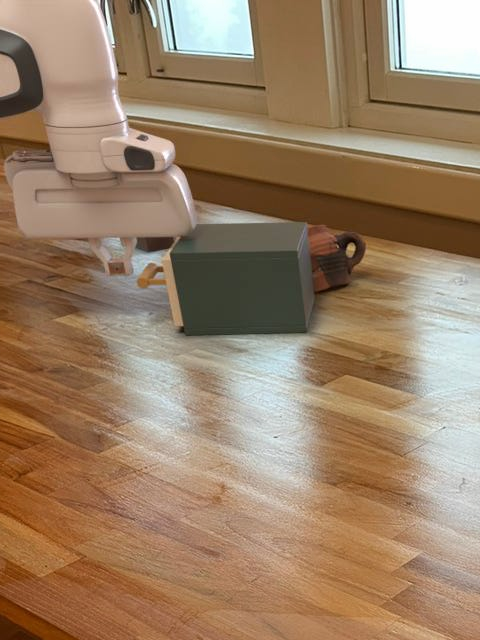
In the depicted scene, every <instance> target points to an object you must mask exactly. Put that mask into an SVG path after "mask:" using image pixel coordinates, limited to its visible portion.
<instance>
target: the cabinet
mask: <svg viewBox="0 0 480 640" xmlns="http://www.w3.org/2000/svg"><path fill="white" fill-rule="evenodd" d="M307 228H308V223H307V221H291V222H290V221H289V222H287V221H286V222H284V221H283V222H239V223H238V222H235V223H234V222H233V223H197V225H196V227H195V229H194V230H193V232H192V233H191V234H190V235H189V236H187V237H180V239H179V240H178V242H177V243H176V244H175V246H174V247H173V249H172V250H171V252H170V253H169V254H170V259H171V264H172V269H173V274H174V279H175V284H176V289H177V295H178V300H179V305H180V310H181V315H182V321H183V326H182V327H183V331H184V335H185V336H213V335H214V336H219V335H254V334H256V335H258V334H297V333H299V334H301V333H302V334H303V333H307V332H308V328H309V325H310V320H311V316H312V312H313V308H314V305H315V301H316V296H315V291H314V285H313V276H312V275H313V272H312V267H311V257H310V248H309V239H308V229H307Z"/></svg>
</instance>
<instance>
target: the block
mask: <svg viewBox="0 0 480 640" xmlns="http://www.w3.org/2000/svg"><path fill="white" fill-rule="evenodd" d="M136 239H137V244H136V247H135V249H136V248H137V249H138V250H142V251H144V252H147V253H151V252H152V253H153V252H156V251H160V250H165V249H170V247H171V246H172V244H173V243H174V242H175V237H136Z"/></svg>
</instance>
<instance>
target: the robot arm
mask: <svg viewBox="0 0 480 640" xmlns="http://www.w3.org/2000/svg"><path fill="white" fill-rule="evenodd" d="M28 112H34V113H38V114H40V116H41V117H42V121H43V124H44V127H45V132H46V137H47V140H48V144H49V148H50V149H43V150H42V149H41V150H40V149H39V150H32V151H29V150H28V151H26V150H14V151H13V152H12V154H11V155H9V156H8V157H6V159H5V160H4V161H3V171H4V174H5V178H6V182H7V184H8V186H9V188H10V189H11V190H12V197H13V199H12V200H13V206H14V213H15V218H16V222H17V226H18V229H19V232H20V233H22V235H23V236H24V237H25V238H27V239H28V240H67V239H70V240H71V239H72V240H73V239H87V241H88V245H89V249H91V251H92V252H93V253H94V254H95V256H97V258H98V259H99V260H100V261H101V263H103V267H104V272H105V275H106V277H131V276H133V275H134V266H133V260H132V258H133V255H134V252H135V250H136V244H137V239H136V237H173V238H177V237H187V236H189V235H190V234H191V233H192V232H193V230H194V229H195V227H196V225H197V224H198V217H197V210H196V207H195V201H194V197H193V195H192V191H191V188H190V185H189V182H188V180H187V177H186V175H185V173H184V171H183V170H182V169H181V168H180V167H179V166H178V165H176V164H174V162H175V159H176V155H177V153H176V148H175V145H174V143H173V142H172V141H171V140H169V139H166V138H162V137H161V136H156V135H153V134H149V133H146V132H143V131H141V130H137V129H135V128H131V127H130V125H129V121H128V116H127V113H126V110H125V108H124V106H123V104H122V102H121V99H120V94H119V71H118V65H117V61H116V55H115V52H114V48H113V43H112V39H111V36H110V32H109V29H108V26H107V22H106V19H105V15H104V14H103V10H102V8H101V5H100V3H99V1H98V0H0V121H2V120H3V121H4V120H9V119H12V118H15V117H16V116H19V115H24V114H25V113H28ZM106 239H119V243H120V247H122V248H125V251H124V253H123V257H113V256H112V255H111V253H110V252H109V251H108V249H107V248H106V247H105V246H104V244H105V243H106V242H107V240H106Z"/></svg>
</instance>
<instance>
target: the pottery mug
mask: <svg viewBox="0 0 480 640" xmlns="http://www.w3.org/2000/svg"><path fill="white" fill-rule="evenodd" d="M307 229H308V239H309V248H310V257H311V267H312V276H313V285H314V293H318V292H322V291H324V290H326V289H329V288H333V287H340V286H343V285H344V286H345V285H349V283H350V281H349V275H351V274H352V272H353V269H354V268H355V267H356V266H357V265H359V264H360V263H361V262H362V260H363V259H364V256H365V254H366V249H367V248H366V246H367V243H366V242H365V240H363V237H362V236H361V234H359V232H356V231H346V232H344V233H341V234H337V235H333V234H331V233H330V232H329V230H328V227H327V225H325V224H317V225H312V226H309V227H307ZM350 244H353V245H354V246H355V247H354V252H353V253H352V256H351V257H349V255H348V254H347V250H348V247H349V245H350ZM319 269H320V270H319Z"/></svg>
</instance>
